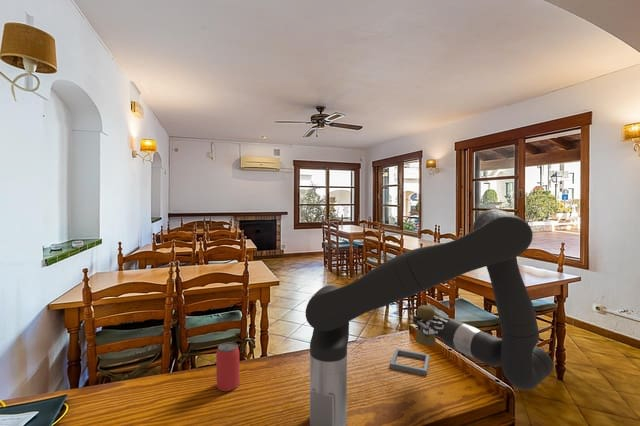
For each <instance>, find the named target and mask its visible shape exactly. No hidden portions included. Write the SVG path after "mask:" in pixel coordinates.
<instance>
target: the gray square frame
mask: <svg viewBox="0 0 640 426" xmlns="http://www.w3.org/2000/svg"><path fill="white" fill-rule="evenodd" d="M398 356H406V357H409V358H416V359H421V360H424V364H423V365H424V366H423V368H422V367H417V366H413V365H408V364H407V365H406V364H402V363H398V362H397V359H398ZM391 357H392V358H391V360H390V363H389V368H390V369H393V370H399V371H404V372H408V373H412V374H418V375H421V376H422V375H423V376H428V368H429V364H430V353H429V354H427V353H423V352H417V351H412V350H405V349H401V348H400V349H399V348H395V350H394V352H393V354H392V356H391Z"/></svg>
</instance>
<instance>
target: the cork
mask: <svg viewBox="0 0 640 426" xmlns="http://www.w3.org/2000/svg"><path fill="white" fill-rule="evenodd" d="M416 312H417V313H416V314H417V317H420V318H422V319H424V320H427V321H428V320H433V317H434V316H435V314H436V312H435V309H434V308H433V307H432V306H430V305H425V304H423V305H419V306H418V307H417V309H416ZM425 325H426V326H427V324H426V323H425ZM431 325H432V323H431ZM417 328H418V326H417ZM417 328H416V334H415V342H416V343H417V344H419V345H423V346H434V345H436V344H437V340H436V336H435V335H434V334H429V337H425V336H424V335H423V334H422V333H421V332H420V331H419V330H418V329H417Z"/></svg>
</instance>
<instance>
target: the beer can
mask: <svg viewBox="0 0 640 426" xmlns="http://www.w3.org/2000/svg"><path fill="white" fill-rule="evenodd" d="M215 355H216V359H215V360H216V361H215V365H216V371H215V372H216V388H217V390H219V391H221V392H231V391H233V390H235V389H237V388H238V386H239V385H240V350H239V346H238V344H237V342H234V341H233V342H232V341H231V342H230V341H228V342H223V343H221V344H220V345H218V346H217V351H216V354H215Z"/></svg>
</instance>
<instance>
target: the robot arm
mask: <svg viewBox="0 0 640 426" xmlns="http://www.w3.org/2000/svg"><path fill="white" fill-rule="evenodd" d="M532 241H533V230H532V228H531V226H530V225H529V224H528V223H527V222H526V221H525V220H524V219H522V218H521V217H519V216H518V215H515V214H512V213H510V212H508V211H505V210H502V209H496V208H494V209H487V210H485V211H483V212H481V213H480V214H478V216H477V217H476V218H475V220H474V221H473V225H472V231H471V232H469V233H467V234H464V235H463V236H461V237H459V238H455V239H454V240H451V241H447V242H444V243H439V244H431V245H427V246H426V245H425V246H422V247H418V248H414V249H411V250H408V251H405V252H402V253H401V254H399V255H396V256H393V257H392V258H390V259H388V260H386V261H384V262H383V263H381V264H379V265H378V266H376V267H374V268H372V269H371V270H370V271H369V272H366V274H364V275H363V276H362V277H360V278H358V279H356V280H355V281H353V282H351V283H348V284H346V285H343V286H340V287H338V286H336V285H330V284H329V285H325V286H323V287H321V288H320V289H318V290H317V291H316V292H315V293H314V294H313V295H312V296H311V297H310V299H309V300H308V302H307V304H306V307H305V319H306V322H307V323H308V324H309V326H310V327H312V329H313V330H312V335H311V339H310V342H309V426H347V423H348V343H349V338H350V337H349V336H350V322H351V321H353V320H354V319H356V318H358V317H360V316H362V315H364V314H366V313H368V312H371V311H374V310H376V309H380V308H383V307H385V306H388V305H391V304H394V303H396V302H399V301H402V300H405V299H407V298H410V297H412V296H415V295H417V294H420V293H423V292H425V291H427V290H429V289H431V288H434V287H436V286H439V285H440V284H443V283H445V282H448V281H451V280H453V279H455V278H458V277H460V276H463V275H464V274H466V273H469V272H470V273H471V272H472V271H475V270H479V269H483V268H485V267H486V269H487V273H488V275H489V279H490V283H491V288H492V291H493V296H494V297H493V298H494V301H495V305H496V306H495V307H496V311H497V315H498V320H499V324H500V330H501V333H502V337H497V336H495V335H492V334H490V333H487V332H485V331H484V330H483V331H482V330H480V329H479V328H477V327H475V326H473V325H471V324H467V323H466V322H463V321H460V320H458V319H454V318H450V317H446V316H443V315H440V316H436V315H434V317H433V320H428V321H427V320H424V319H422V318H420V317H419V316H418V315H413V316H412V323H413V324H415V325H417V327H418V328H416V330H417V329H418V330H419V331H420V332H421V333H422V334H423V335H424V336H425V337H429V334H434V335H435V337H438V338H441V339H442V342H443V343H444V344H445V345H446V346H448V347H449V348H452V349H454V350H456V351H458V352H460V353H462V354H463V355H465V356H468V357H471V358H473V359H476V360H478V361H480V362H482V363H484V364H486V365H488V366H490V367H494V368H495V367H496V368H497V367H501V369H502V372H503V374H504V376H505V378H506V379H507V381H508V382H509V383H510V384H511V385H513V387H515V388H516V389H518V390H520V391H530V390H533V389H535V388H536V387H537V386H539V385H540V384H541V383H542V382H543V381H544V380H545V379H546V378H547V377H548V376H550V375H551V374H552V372H553V370H554V362H553V359H552V358H551V356H550V355H549V354H548V353H547V352H546V351H545V350H544V349H542V348H541V347H539V346H537V344H538V343H539V341H540V331H539V327H538V326H539V325H538V322H537V321H538V320H537V315H536V312H535V308H534V304H533V302H532V299H531V296H530V294H529V291H528V290H527V287H526V284H525V282H524V280H523V277H522V274H521V272H520V267H519V264H518V261H517V257H518V256H520V255H522V254H523V253H525V252H526V251H527V250H528V248H529V247H530V246H531V244H532ZM425 323H426V324H427V326H426V325H425ZM431 323H432V325H431Z"/></svg>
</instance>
